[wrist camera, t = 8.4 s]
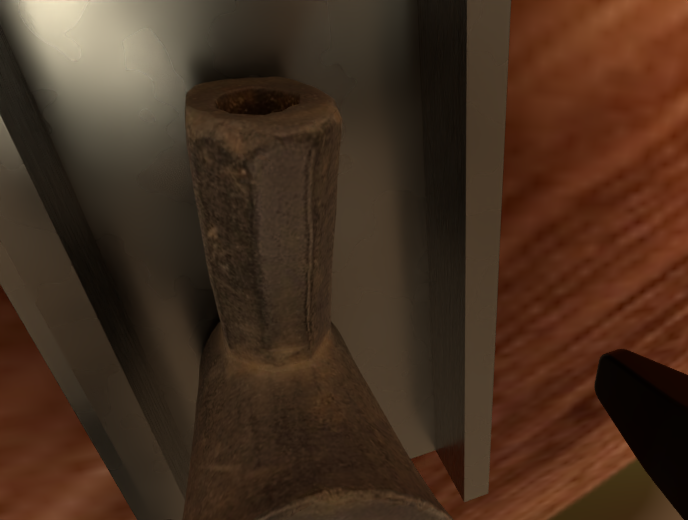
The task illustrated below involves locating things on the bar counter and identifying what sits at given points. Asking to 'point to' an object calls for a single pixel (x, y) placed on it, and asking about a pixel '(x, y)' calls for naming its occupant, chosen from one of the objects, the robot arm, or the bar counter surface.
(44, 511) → the bar counter surface
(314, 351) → the pipe
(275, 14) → the pipe cradle
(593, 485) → the bar counter surface
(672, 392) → the robot arm
